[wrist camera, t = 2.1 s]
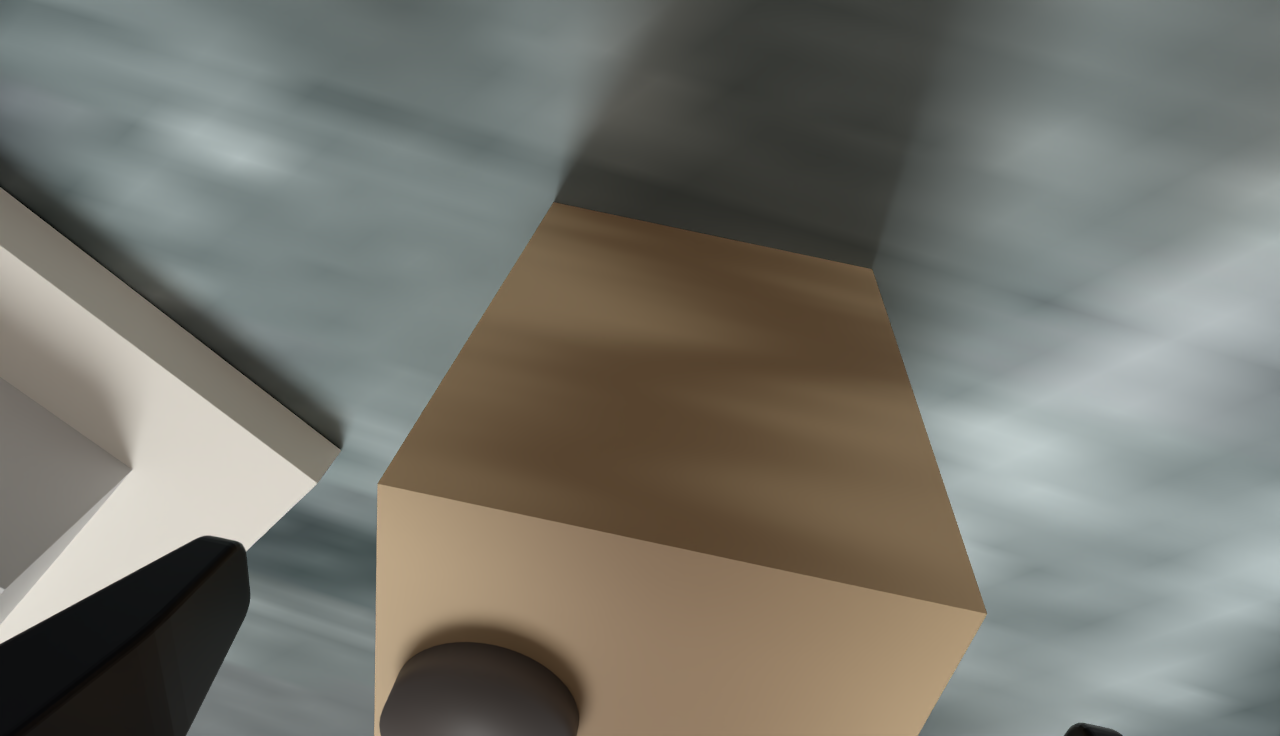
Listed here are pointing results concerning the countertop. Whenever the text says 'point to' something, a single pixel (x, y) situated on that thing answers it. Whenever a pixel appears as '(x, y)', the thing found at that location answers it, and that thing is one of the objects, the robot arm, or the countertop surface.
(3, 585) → the socket plate
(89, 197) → the countertop surface
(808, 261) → the tan block
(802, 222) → the countertop surface
